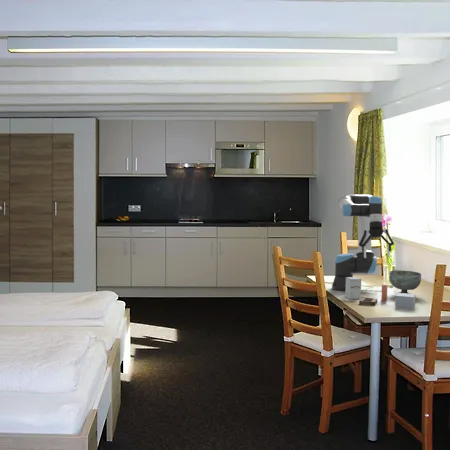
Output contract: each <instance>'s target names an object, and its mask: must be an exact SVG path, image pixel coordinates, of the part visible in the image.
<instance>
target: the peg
mask: <svg viewBox="0 0 450 450" xmlns="http://www.w3.org/2000/svg"><path fill="white" fill-rule="evenodd" d="M381 302H382V303H387V302H388V284H381Z"/></svg>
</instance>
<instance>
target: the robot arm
mask: <svg viewBox="0 0 450 450" xmlns="http://www.w3.org/2000/svg"><path fill="white" fill-rule="evenodd" d="M382 199H383V198H382V197H381V196H378V195H375V196H373V195H371V194H346V195H343V196H340V198H339V199H338V202H337V207H338V208H339V210H340V211H341V214H342V216H344V217H357V244H358V245H357V248H358V249H357V250H358V251H357V252H356V253H355V255H354V253H350V252H349V253H340V254H337V255H336V256H335V260H334V264H335V265H334V266H335V267H334V278H333V282H332V284H331V289H332V290H334V291H341V292H343V291H344V292H345V289H346V277H354V274H355V275H356V274H359V275H360V274H363V275H370V274H374V273H375V272H376V268H377V263H378V260H377V256H375V252H373V250H372V239H373V238H375V239H376V238H378V239H379V238H381V239H382V240H383V241H384V242H385V243H386V244H387V246H386V247H387V249H386V250H387V254H386V255H387V257H388V258H390V256H391V255H390V252H392V246H394V245H395V243H394V241H393V239H392V237H391V235H390V232H389V230H388V229H387V228H386V229H383V201H382ZM383 234H386V236H387V238H388V239H389V240H388V239H386V237H385V236H384V235H383Z"/></svg>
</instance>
